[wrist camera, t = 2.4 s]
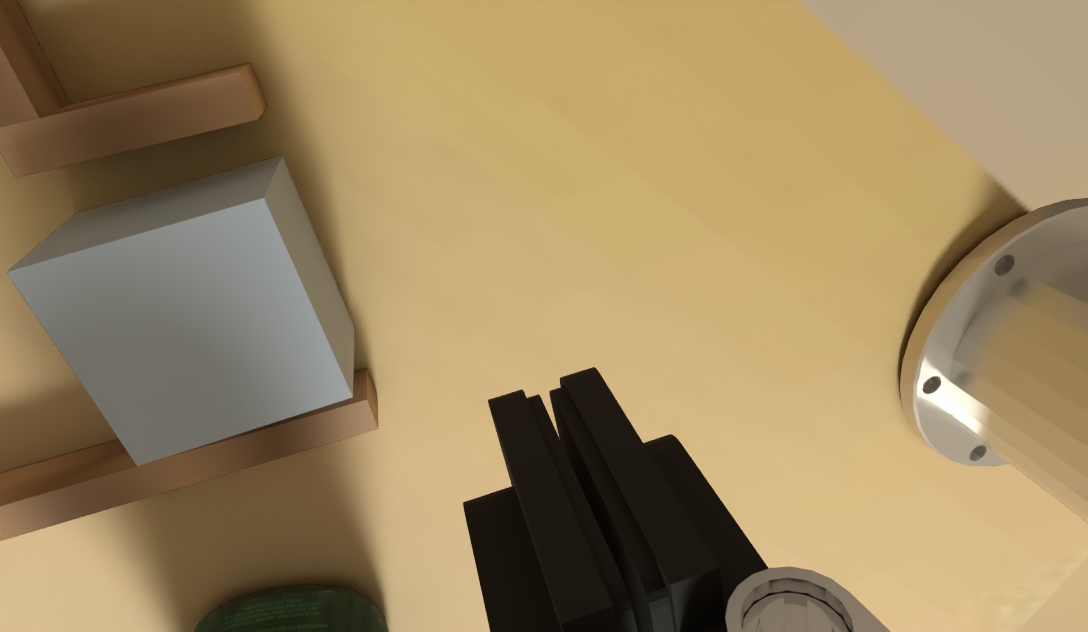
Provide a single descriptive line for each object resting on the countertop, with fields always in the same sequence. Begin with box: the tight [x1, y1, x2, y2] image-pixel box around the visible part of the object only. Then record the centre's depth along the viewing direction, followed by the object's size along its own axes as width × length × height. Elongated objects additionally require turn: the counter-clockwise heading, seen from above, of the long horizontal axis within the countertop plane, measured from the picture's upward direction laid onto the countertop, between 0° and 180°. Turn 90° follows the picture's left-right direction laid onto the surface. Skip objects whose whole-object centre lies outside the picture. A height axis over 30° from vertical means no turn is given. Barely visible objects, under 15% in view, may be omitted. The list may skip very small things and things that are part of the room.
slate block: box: [6, 155, 355, 466], centre depth 20 cm, size 6×6×4 cm
